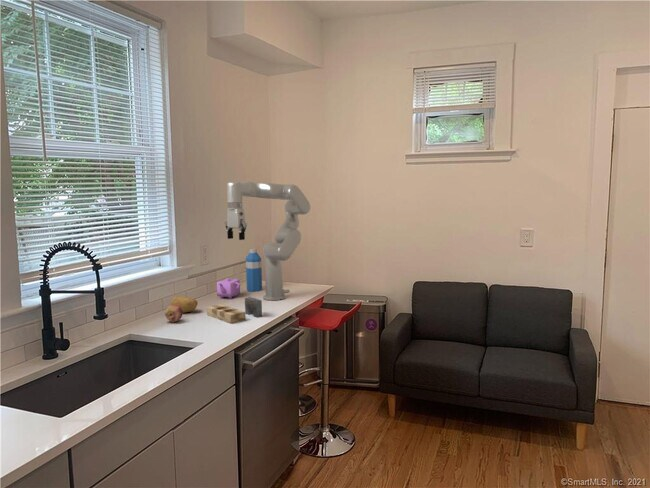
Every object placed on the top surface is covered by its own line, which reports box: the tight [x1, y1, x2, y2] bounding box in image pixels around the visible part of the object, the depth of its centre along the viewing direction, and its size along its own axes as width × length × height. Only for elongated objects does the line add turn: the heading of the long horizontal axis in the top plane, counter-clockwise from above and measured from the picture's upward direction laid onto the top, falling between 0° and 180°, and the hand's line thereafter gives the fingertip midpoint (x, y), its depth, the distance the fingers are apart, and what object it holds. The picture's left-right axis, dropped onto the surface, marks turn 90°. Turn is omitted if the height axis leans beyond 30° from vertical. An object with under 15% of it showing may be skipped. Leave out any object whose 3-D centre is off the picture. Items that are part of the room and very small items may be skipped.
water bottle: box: [245, 248, 263, 293], centre depth 299 cm, size 9×9×25 cm
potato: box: [170, 295, 198, 314], centre depth 250 cm, size 10×14×8 cm
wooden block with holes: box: [206, 303, 246, 324], centre depth 238 cm, size 8×22×4 cm, turn 42°
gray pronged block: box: [244, 296, 263, 318], centre depth 242 cm, size 10×3×8 cm, turn 42°
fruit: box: [164, 304, 183, 323], centre depth 232 cm, size 8×8×8 cm
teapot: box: [216, 277, 241, 300], centre depth 282 cm, size 15×13×11 cm
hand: (236, 239), depth 256 cm, fingers open, 9 cm apart
